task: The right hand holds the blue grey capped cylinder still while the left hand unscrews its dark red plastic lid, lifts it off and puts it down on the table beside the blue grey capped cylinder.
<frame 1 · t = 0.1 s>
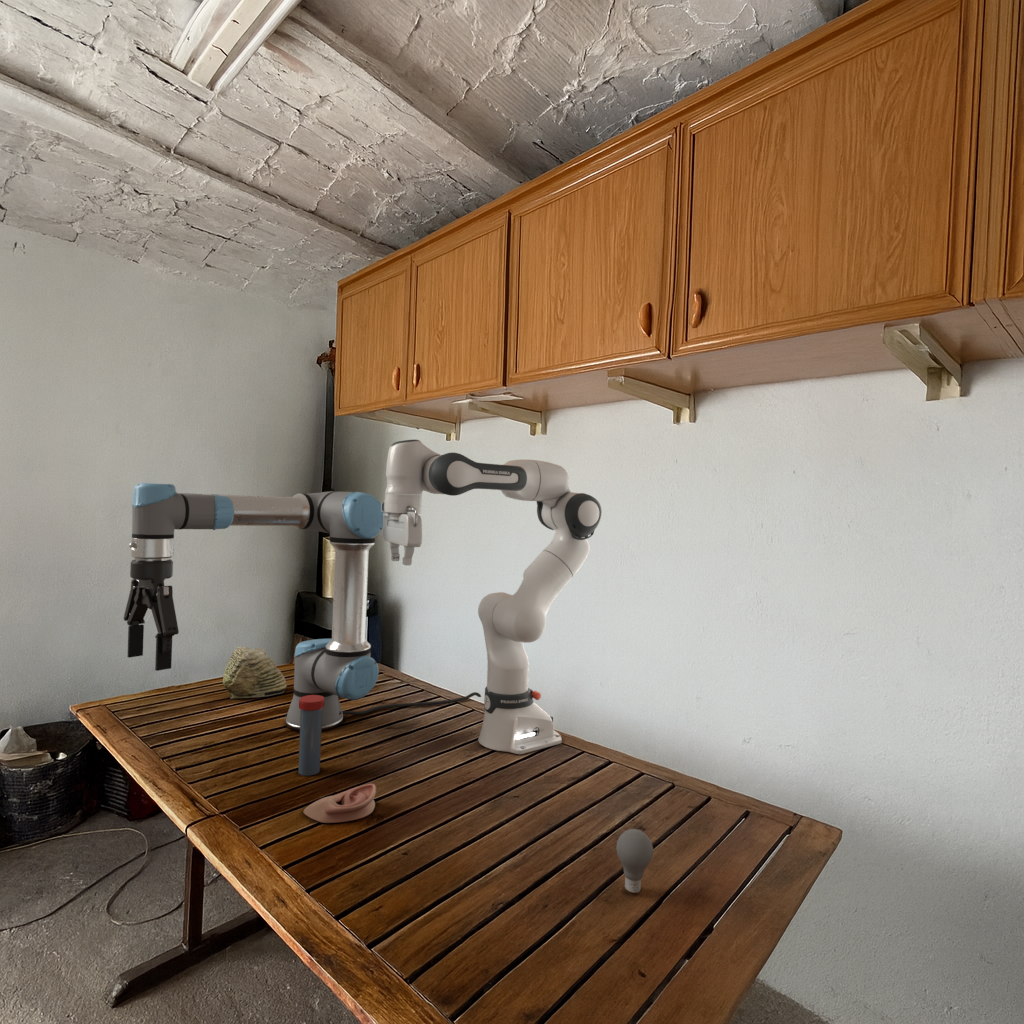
left hand: (148, 662, 129), 28 cm above the table, tool pointing down, fingers open, 13 cm apart
right hand: (400, 563, 154), 48 cm above the table, tool pointing down, fingers open, 8 cm apart
anatomical model: (340, 810, 128), on the table
light bulb: (632, 891, 106), on the table
lid: (311, 700, 145), point 17 cm above the table, screwed on, not yet turned
fossil: (254, 694, 198), on the table
blue grey capped cylinder: (309, 771, 146), on the table
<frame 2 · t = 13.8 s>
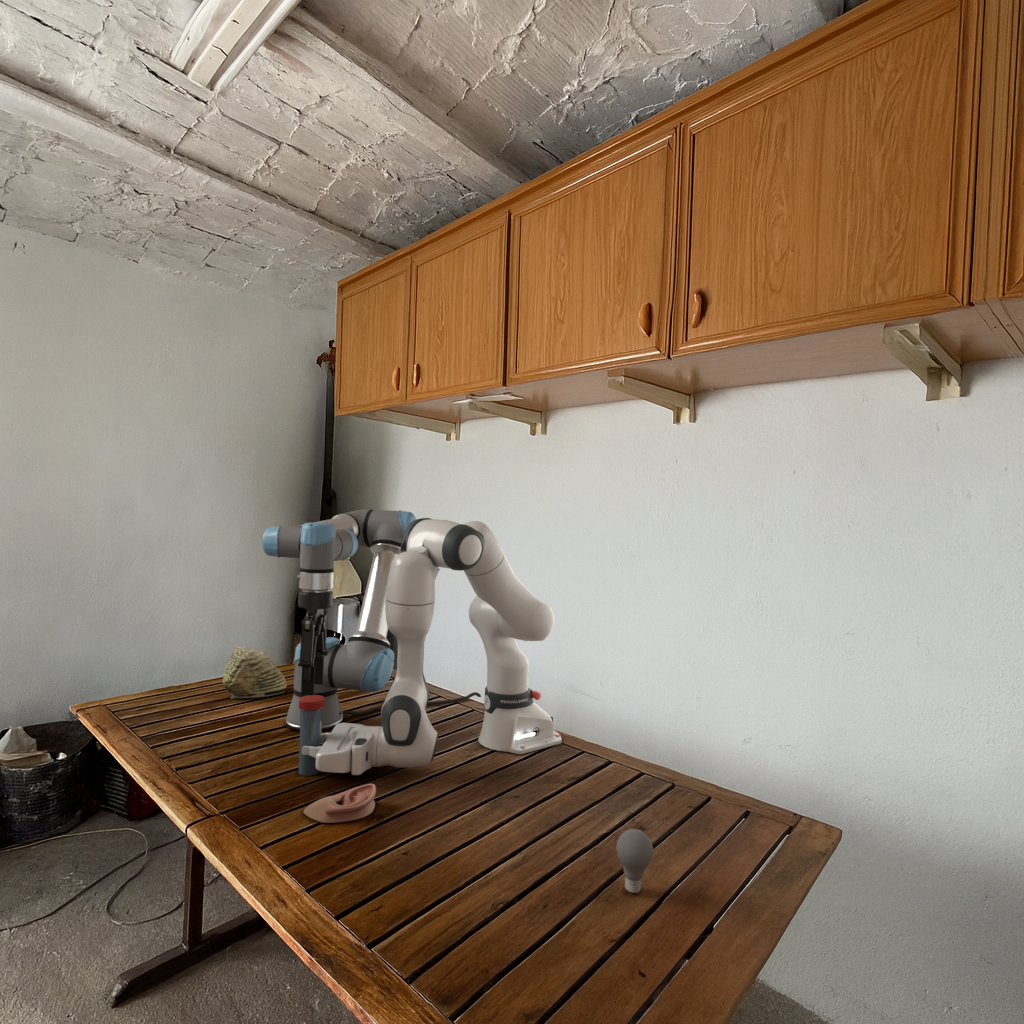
left hand: (312, 689, 145), 19 cm above the table, tool pointing down, fingers open, 8 cm apart
right hand: (306, 744, 146), 6 cm above the table, tool horizontal, fingers closed on blue grey capped cylinder, 5 cm apart
blue grey capped cylinder: (309, 771, 146), on the table, touching right hand
everything else where it was.
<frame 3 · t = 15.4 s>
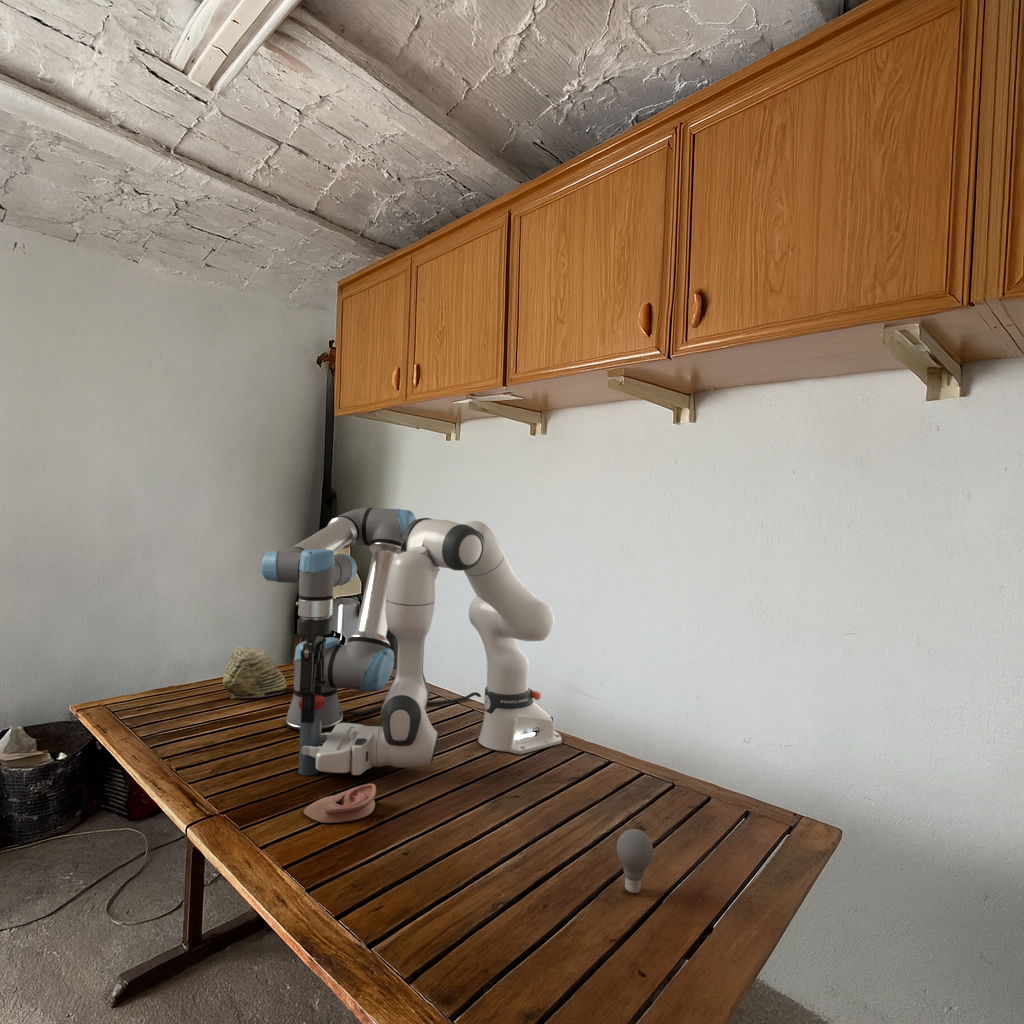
left hand: (311, 717, 145), 13 cm above the table, tool pointing down, fingers closed on lid, 5 cm apart
right hand: (306, 744, 146), 6 cm above the table, tool horizontal, fingers closed on blue grey capped cylinder, 5 cm apart
lid: (311, 700, 145), point 17 cm above the table, screwed on, not yet turned, touching left hand
blue grey capped cylinder: (309, 771, 146), on the table, touching right hand
everything else where it was.
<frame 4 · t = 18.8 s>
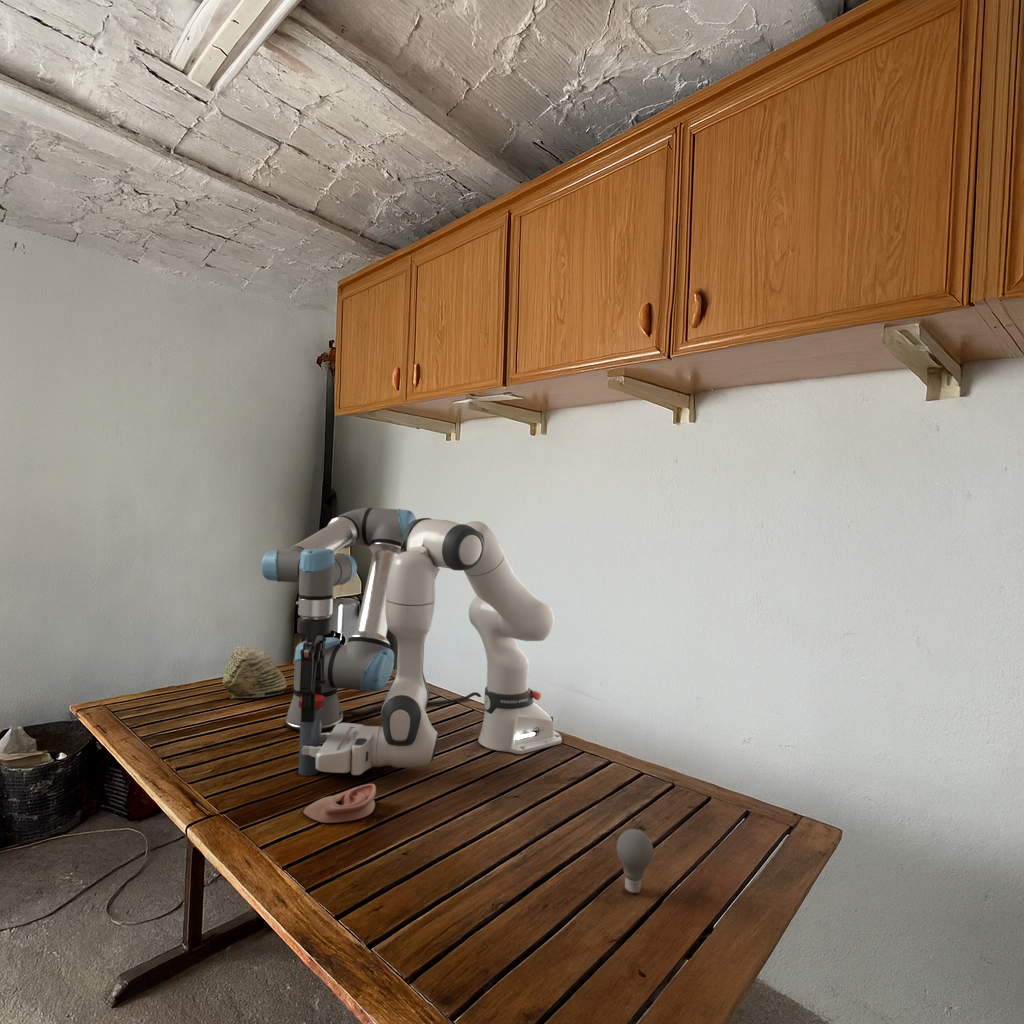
left hand: (311, 716, 145), 13 cm above the table, tool pointing down, fingers closed on lid, 5 cm apart
right hand: (306, 744, 146), 6 cm above the table, tool horizontal, fingers closed on blue grey capped cylinder, 5 cm apart
lid: (311, 699, 145), point 17 cm above the table, turned 89° so far, risen 0.1 cm, still on its thread, touching left hand
blue grey capped cylinder: (309, 771, 146), on the table, touching right hand
everything else where it was.
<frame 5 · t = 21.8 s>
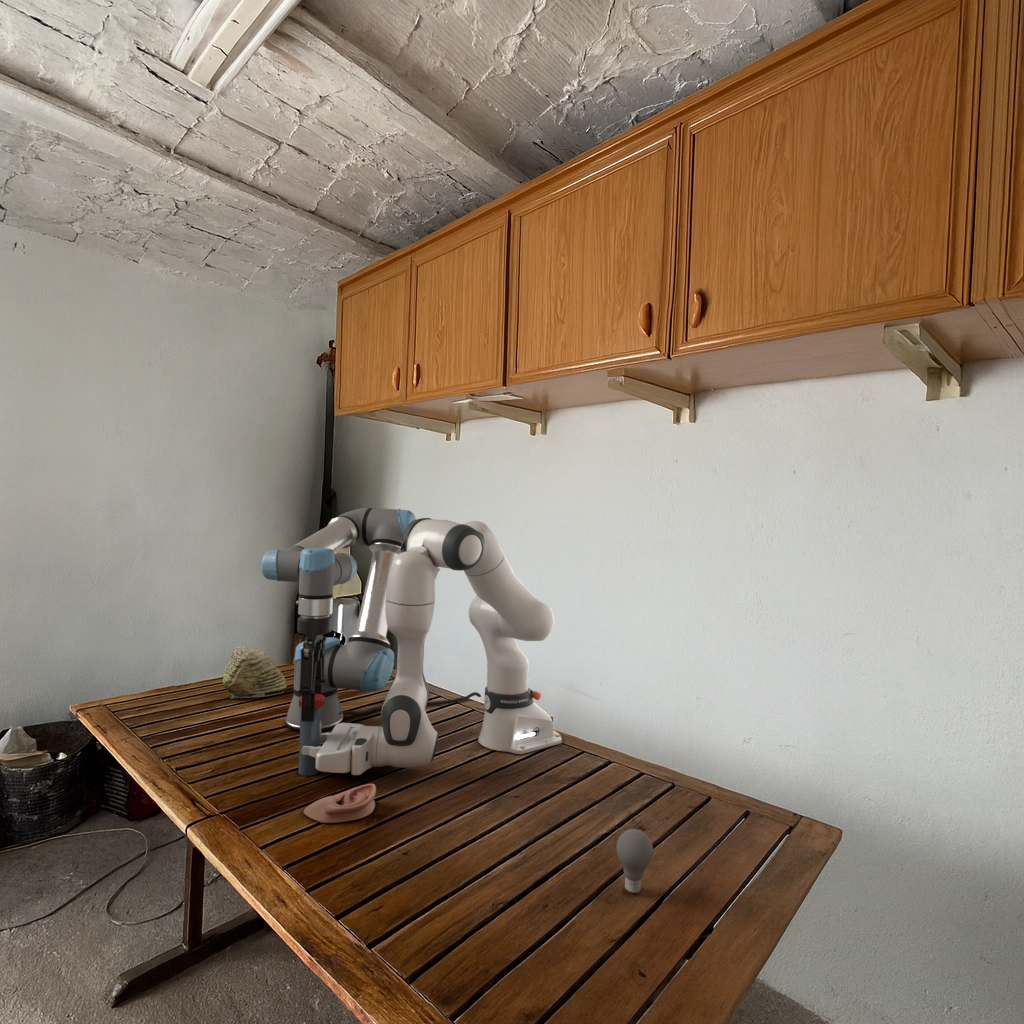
left hand: (311, 715, 145), 13 cm above the table, tool pointing down, fingers closed on lid, 5 cm apart
right hand: (306, 744, 146), 6 cm above the table, tool horizontal, fingers closed on blue grey capped cylinder, 5 cm apart
lid: (311, 698, 145), point 17 cm above the table, turned 178° so far, risen 0.3 cm, still on its thread, touching left hand
blue grey capped cylinder: (309, 771, 146), on the table, touching right hand
everything else where it was.
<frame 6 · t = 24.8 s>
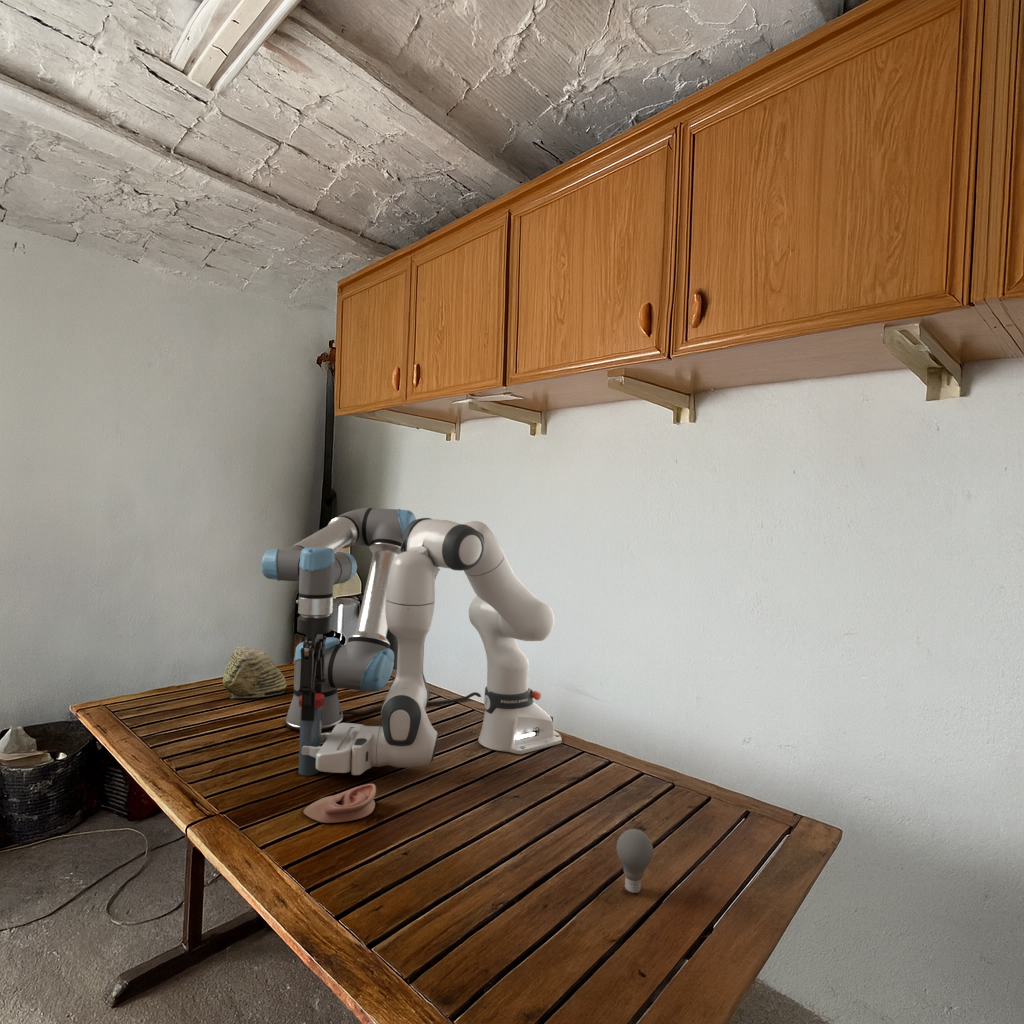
left hand: (311, 715, 145), 13 cm above the table, tool pointing down, fingers closed on lid, 5 cm apart
right hand: (306, 744, 146), 6 cm above the table, tool horizontal, fingers closed on blue grey capped cylinder, 5 cm apart
lid: (311, 698, 145), point 17 cm above the table, turned 267° so far, risen 0.5 cm, still on its thread, touching left hand
blue grey capped cylinder: (309, 771, 146), on the table, touching right hand
everything else where it was.
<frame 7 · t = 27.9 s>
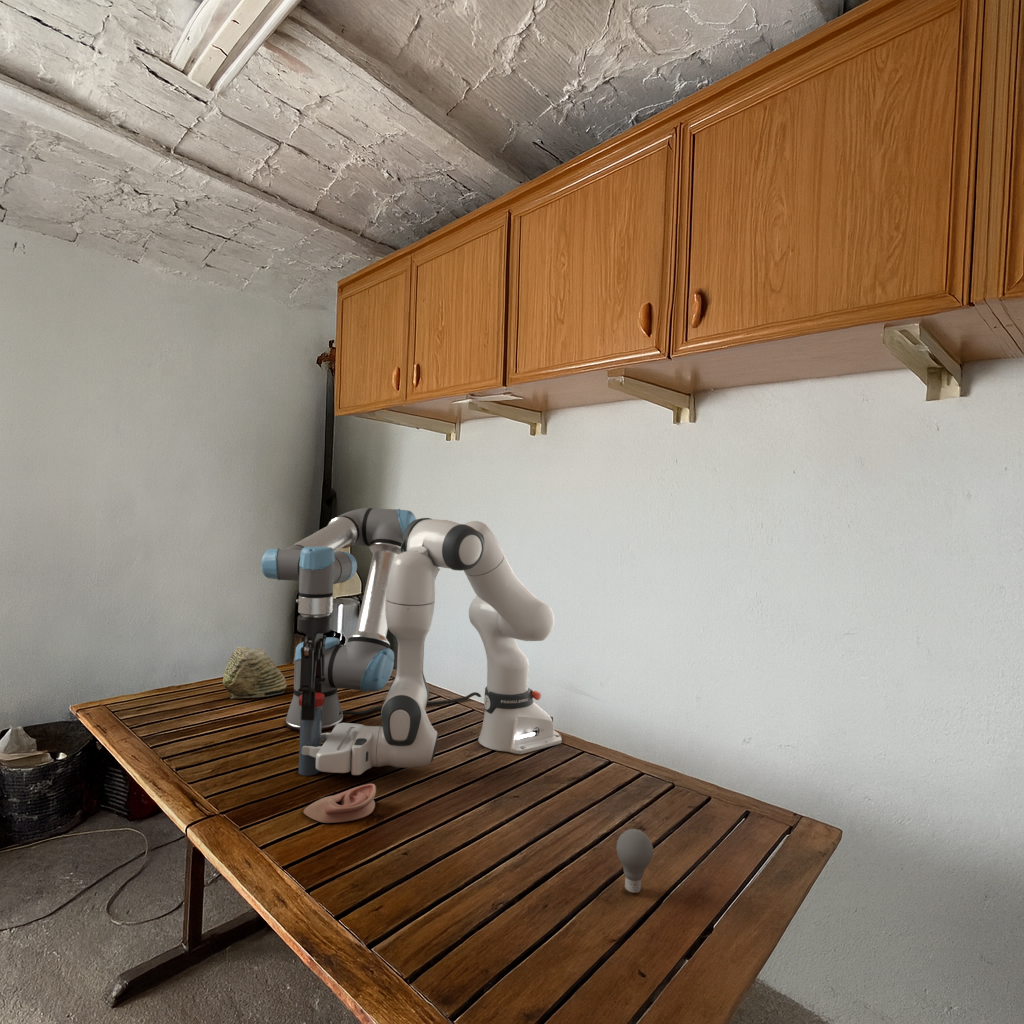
left hand: (311, 714, 145), 13 cm above the table, tool pointing down, fingers closed on lid, 5 cm apart
right hand: (306, 744, 146), 6 cm above the table, tool horizontal, fingers closed on blue grey capped cylinder, 5 cm apart
lid: (311, 697, 145), point 17 cm above the table, turned 355° so far, risen 0.6 cm, still on its thread, touching left hand
blue grey capped cylinder: (309, 771, 146), on the table, touching right hand
everything else where it was.
when the left hand's fingers open (0 cm above the table, at t = 34.1 s): lid drops 2 cm, point 2 cm above the table.
when the right hand's fingers open (6 cm above the table, at t = 34.8 s): blue grey capped cylinder stays where it is, on the table.
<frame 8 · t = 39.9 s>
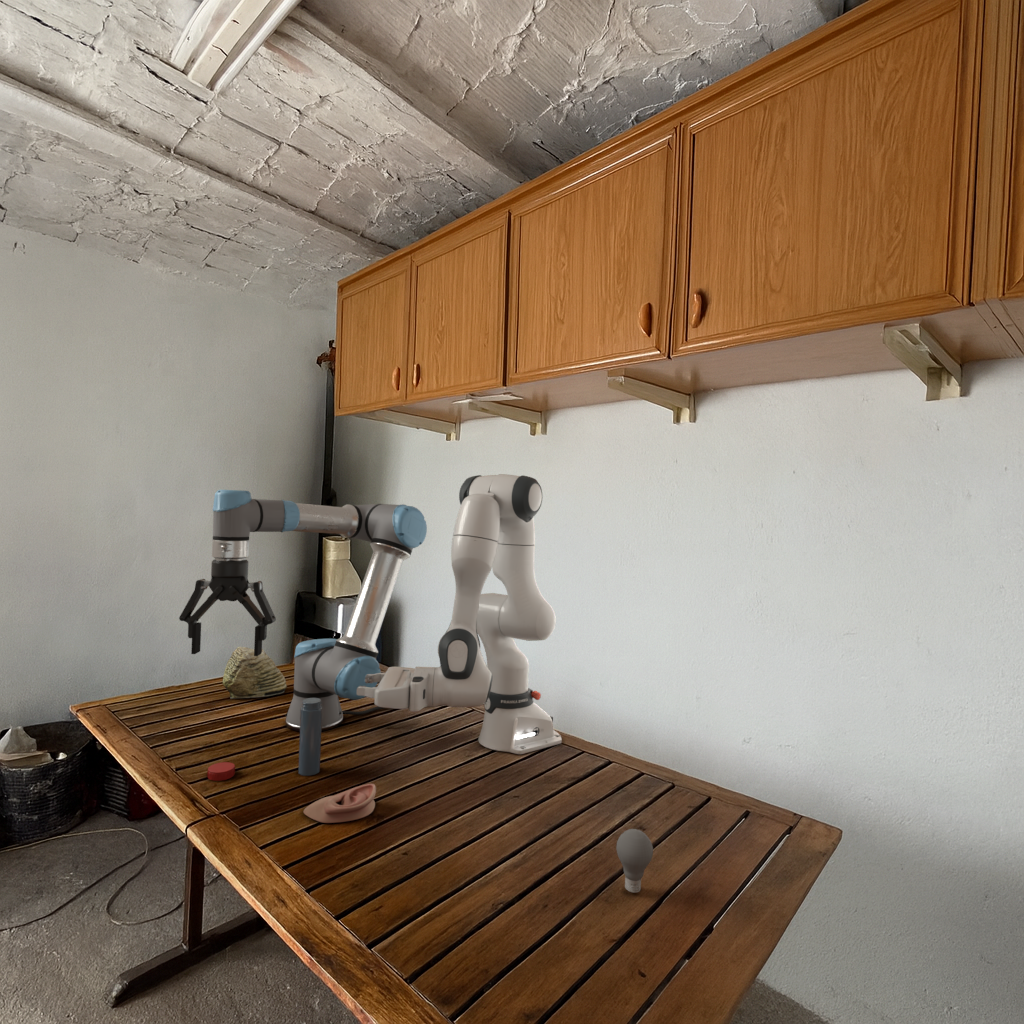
left hand: (226, 653, 141), 27 cm above the table, tool pointing down, fingers open, 13 cm apart
right hand: (361, 684, 146), 21 cm above the table, tool horizontal, fingers open, 8 cm apart
lid: (221, 768, 142), point 2 cm above the table, off its thread
blue grey capped cylinder: (309, 771, 146), on the table
everything else where it was.
at the end: lid came off its thread; lid point 1.5 cm above the table; the left hand is holding nothing; the right hand is holding nothing; blue grey capped cylinder tilted 0°; blue grey capped cylinder moved 0.0 cm from its start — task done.
